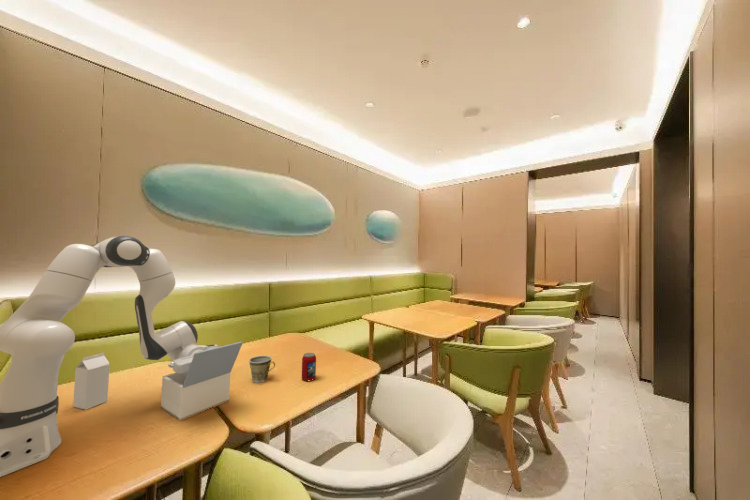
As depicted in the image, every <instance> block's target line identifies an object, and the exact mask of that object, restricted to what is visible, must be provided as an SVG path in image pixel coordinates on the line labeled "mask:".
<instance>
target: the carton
mask: <svg viewBox="0 0 750 500" xmlns="http://www.w3.org/2000/svg"><path fill="white" fill-rule="evenodd" d="M187 373H188V372H185V373H182V374H177V373H176V372H173V373H169V374H167V375H166V374H165V375H162V378H161V379H162V381H161V400H160V408H161V410H164V411H165V412H166V413H167V414H169V415H171V416H172V417H174V419H177V420H178V421H180V422H182V421H184V420H186V419H189V418H190V417H191V418H192V417H193V416H196V415H198V413H199V414H201V413H203V412H206V411H208V410H210V409H209V408H211V409H213V408H215V407H218V406H220V405H223V404H225V403H227V402H230V389H231V388H230V385H231V372H230V373H227V374H224V375H221V376H218V377H215V378H212V379H209V380H206V381H203V382H200V383H197V384H194V385H191V386H187V387H184V388H183V384H184V381H185V379H186V376H187ZM212 407H213V408H212ZM207 409H208V410H207ZM205 410H206V411H205ZM202 411H203V412H202ZM200 412H201V413H200Z"/></svg>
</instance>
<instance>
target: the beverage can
mask: <svg viewBox="0 0 750 500" xmlns="http://www.w3.org/2000/svg"><path fill="white" fill-rule="evenodd" d="M316 373H317V357H316V354H315V353H314V352H306V353H304V354H303V356H302V359H301V380H302V381H304V380H306V381H305V382H309V381H308V380H312V379H313V380H315V379H316V376H317V375H316ZM314 378H315V379H314ZM313 380H312V381H313Z"/></svg>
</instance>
